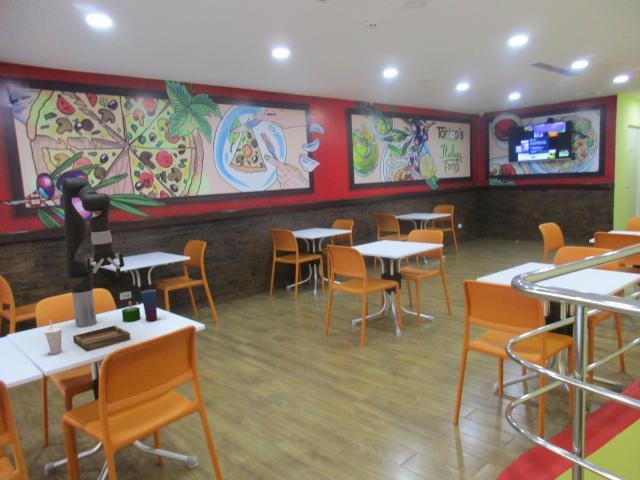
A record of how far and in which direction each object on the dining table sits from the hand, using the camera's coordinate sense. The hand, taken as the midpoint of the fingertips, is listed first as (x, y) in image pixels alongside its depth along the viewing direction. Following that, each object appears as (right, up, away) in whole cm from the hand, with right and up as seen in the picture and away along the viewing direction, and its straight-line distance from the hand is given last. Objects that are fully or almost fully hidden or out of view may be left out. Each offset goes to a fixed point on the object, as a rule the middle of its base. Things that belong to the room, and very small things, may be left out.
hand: (107, 279), depth 192 cm
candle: (-7, -24, +40) cm, 48 cm away
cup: (+5, -24, +37) cm, 45 cm away
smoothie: (-21, -31, -2) cm, 37 cm away
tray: (-7, -28, +10) cm, 30 cm away
